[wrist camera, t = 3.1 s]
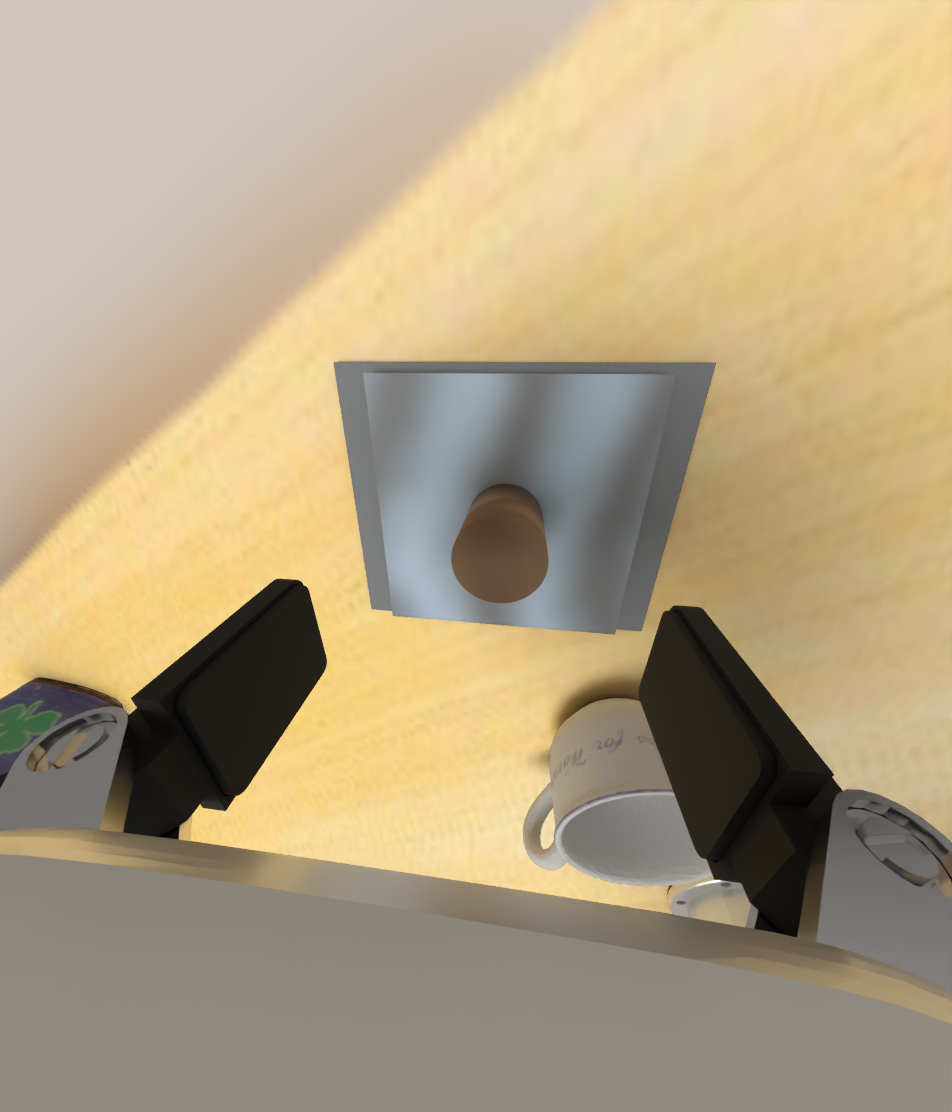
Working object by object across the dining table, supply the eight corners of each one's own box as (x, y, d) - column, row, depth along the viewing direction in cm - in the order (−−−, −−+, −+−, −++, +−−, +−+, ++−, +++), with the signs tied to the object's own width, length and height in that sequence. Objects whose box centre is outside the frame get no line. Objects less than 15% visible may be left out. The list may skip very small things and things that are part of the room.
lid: (666, 375, 16) (742, 369, 10) (610, 622, 22) (639, 701, 16) (372, 373, 17) (302, 368, 12) (398, 605, 23) (360, 672, 18)
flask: (38, 691, 34) (-148, 808, 25) (28, 670, 33) (-173, 786, 24) (127, 715, 34) (-25, 842, 25) (120, 696, 33) (-43, 822, 24)
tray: (711, 363, 16) (716, 362, 15) (639, 627, 22) (641, 631, 22) (337, 362, 18) (333, 362, 17) (373, 605, 24) (371, 609, 24)
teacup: (667, 657, 23) (731, 777, 16) (709, 755, 27) (777, 890, 20) (487, 709, 28) (474, 822, 20) (544, 788, 31) (550, 906, 24)
